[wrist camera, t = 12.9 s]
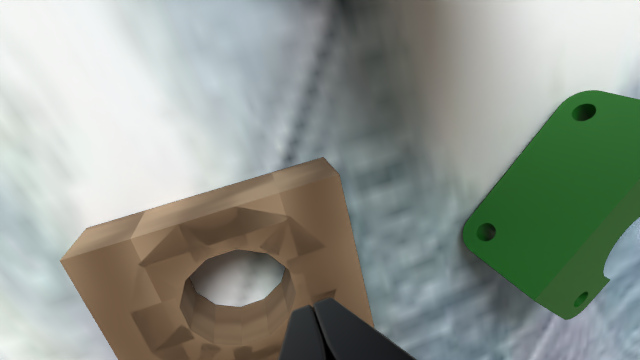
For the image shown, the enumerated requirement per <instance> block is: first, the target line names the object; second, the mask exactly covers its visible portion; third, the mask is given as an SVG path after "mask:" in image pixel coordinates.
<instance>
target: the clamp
mask: <svg viewBox="0 0 640 360" xmlns="http://www.w3.org/2000/svg"><path fill="white" fill-rule="evenodd" d="M639 217H640V100H638V99H634V98H630V97H625V96H621V95H616V94H612V93H607V92H603V91H597V90H591V91H584V92H580V93H577V94H575V95H573V96H571V97H569V98H568V99H566V100H565V101H564V102H563V103H562V104H561V105H560V106H559V107H558V109H557V110H556V111H555V112H554V114H553V115H552V116H551V117H550V119H549V120H548V121H547V122H546V124H545V125H544V126H543V127H542V129H541V130H540V131H539V132H538V133H537V135H536V136H535V137H534V138H533V140H532V141H531V142H530V143H529V145H528V146H527V147H526V148H525V150H524V151H523V152H522V153H521V155H520V156H519V157H518V158H517V160H516V161H515V162H514V163H513V165H512V166H511V167H510V168H509V170H508V171H507V172H506V173H505V175H504V176H503V177H502V178H501V180H500V181H499V182H498V183H497V184H496V186H495V187H494V188H493V189H492V191H491V192H490V193H489V194H488V196H487V197H486V198H485V199H484V201H483V202H482V203H481V204H480V206H479V207H478V208H477V209H476V211H475V212H474V213H473V214H472V216H471V217H470V218H469V219H468V221H467V222H466V224H465V226H464V229H463V240H464V243H465V245H466V247H467V248H468V249H469V250H470V251H471V252H473V253H474V254H475V255H476V256H478V257H479V258H480V259H482V260H483V261H484V262H485V263H487V264H488V265H489V266H491V267H492V268H493V269H494V270H496V271H497V272H498V273H499V274H501V275H502V276H503V277H505V278H506V279H507V280H508V281H510V282H511V283H512V284H514V285H515V286H516V287H517V288H519V289H520V290H521V291H522V292H524V293H525V294H526V295H528V296H529V297H530V298H531V299H533V300H534V301H535V302H537V303H539V304H540V305H542V306H543V307H545V308H547V309H548V310H550V311H552V312H553V313H555V314H556V315H558V316H560V317H561V318H563V319H565V320H568V319H571V318H573V317H575V316H576V315H578V314H579V313H580V312H581V311H583V310H584V309H585V308H586V307H587V305H588V304H589V303H590V302H591V301H592V300H593V299H594V298H595V296H596V295H597V294H598V293H599V292H600V291H601V290H602V289H603V287H604V286H605V285H606V284H607V283H608V282H609V281H610V279H608V278H607V277H605V276H604V274H603V270H604V265H605V262H606V259H607V257H608V255H609V253H610V251H611V250H612V248H613V246H614V245H615V243H616V242H617V240H618V239H619V238H620V236H621V235H622V234H623V233H624V232H625V230H626V229H627V228H628V227H629V226H630V225H631V224H632V223H633V222H634V221H635V220H636V219H638V218H639Z"/></svg>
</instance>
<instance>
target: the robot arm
mask: <svg viewBox="0 0 640 360" xmlns="http://www.w3.org/2000/svg"><path fill="white" fill-rule="evenodd" d="M278 360H417V359H415V358H414V357H413V356H411V355H410V354H408V353H407V352H406V351H404V350H403V349H402V348H400V347H399V346H397V345H396V344H395V343H393V342H392V341H391V340H389V339H388V338H387V337H385V336H384V335H382V334H381V333H380V332H378V331H377V330H376V329H374V328H373V327H371V326H370V325H369V324H367V323H366V322H365V321H363V320H362V319H361V318H359V317H358V316H356V315H355V314H354V313H352V312H351V311H350V310H348V309H347V308H345V307H344V306H343V305H341V304H340V303H339V302H337V301H336V300H334V299H333V298H326V299H323V300H320V301H318V302H315V303H314V304H313V308H312V306H311V305H306V306H304V307H301V308H298V309H295V310H293V311H292V312H291V315H290V319H289V322H288V326H287V329H286V333H285V336H284V340H283V343H282V347H281V350H280V354H279V357H278Z"/></svg>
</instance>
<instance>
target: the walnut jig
mask: <svg viewBox="0 0 640 360" xmlns="http://www.w3.org/2000/svg"><path fill="white" fill-rule="evenodd" d="M236 249H240V250H247V251H254V252H261V253H268V254H269V255H270V256H272V257H273V258H274V259H276V260H277V261H278V262H279V263H281V264H282V265H283V266H285V271H284V274H283V278H282V281H281V283H280V284H279V285H278V286H277V287H276V288H275V289H274V290H273V291H272V292H271V293H270V294H269V295H268V296H267V297H266V298H265V299H263V300H260V301H257V302H254V303H251V304H248V305H246V306H243V307H233V306H222V305H215V304H214V303H212V302H210V301H209V300H207V299H206V298H204V297H203V296H201V295H200V294H198V293H197V292H196V291H195V289H194V287H193V285H192V282H191V280H190V278H189V276H190V275H191V274H192V273H193V272H194V271H195V270H196V269H197V268H198V267H199V266H200V265H201V264H202V263H203V262H204V261H205V260H206V259H209V258H212V257H215V256H218V255H221V254H224V253H227V252H230V251H233V250H236ZM60 262H61V264H62V265H63V267H64V269H65V270H66V272H67V274H68V275H69V277H70V279H71V281H72V282H73V284H74V286H75V287H76V289H77V291H78V292H79V294H80V296H81V297H82V299H83V301H84V302H85V304H86V306H87V308H88V309H89V311H90V313H91V314H92V316H93V318H94V319H95V321H96V323H97V324H98V326H99V328H100V330H101V331H102V333H103V335H104V336H105V338H106V340H107V341H108V343H109V345H110V346H111V348H112V350H113V351H114V353H115V355H116V357H117V358H118V360H278V357H279V354H280V350H281V347H282V343H283V340H284V336H285V333H286V329H287V326H288V322H289V319H290V315H291V312H292V311H293V310H295V309H298V308H301V307H304V306H306V305H311V306H312V308H313V304H314V303H315V302H318V301H320V300H323V299H326V298H333V299H334V300H336V301H337V302H339V303H340V304H341V305H343V306H344V307H345V308H347V309H348V310H350V311H351V312H352V313H354V314H355V315H356V316H358V317H359V318H361V319H362V320H363V321H365V322H366V323H367V324H369V325H370V326H371V327H373V328H374V324H373V320H372V315H371V311H370V307H369V302H368V298H367V294H366V289H365V285H364V280H363V276H362V272H361V267H360V263H359V259H358V254H357V250H356V245H355V241H354V237H353V232H352V228H351V224H350V219H349V215H348V210H347V206H346V202H345V197H344V193H343V189H342V184H341V180H340V175H339V173H338V172H337V171H336V170H335V169H334V168H333V167H332V166H331V165H330V164H329V163H328V162H327V161H326V159H325V158H324V157H322V158H319V159H315V160H312V161H309V162H305V163H302V164H299V165H295V166H292V167H289V168H285V169H282V170H279V171H275V172H272V173H269V174H265V175H262V176H259V177H255V178H252V179H249V180H245V181H242V182H239V183H235V184H232V185H229V186H225V187H222V188H219V189H215V190H212V191H209V192H205V193H202V194H199V195H195V196H192V197H189V198H185V199H182V200H179V201H176V202H172V203H169V204H166V205H162V206H159V207H156V208H152V209H149V210H146V211H142V212H139V213H136V214H132V215H129V216H126V217H122V218H119V219H116V220H112V221H109V222H106V223H102V224H99V225H96V226H92V227H89V228H86V230H85V231H84V232H83V233H82V234H81V236H80V237H79V238H78V239H77V240H76V242H75V243H74V244H73V245H72V246H71V248H70V249H69V250H68V251H67V253H66V254H65V255H64V256H63V257H62V259H61V260H60Z"/></svg>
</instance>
